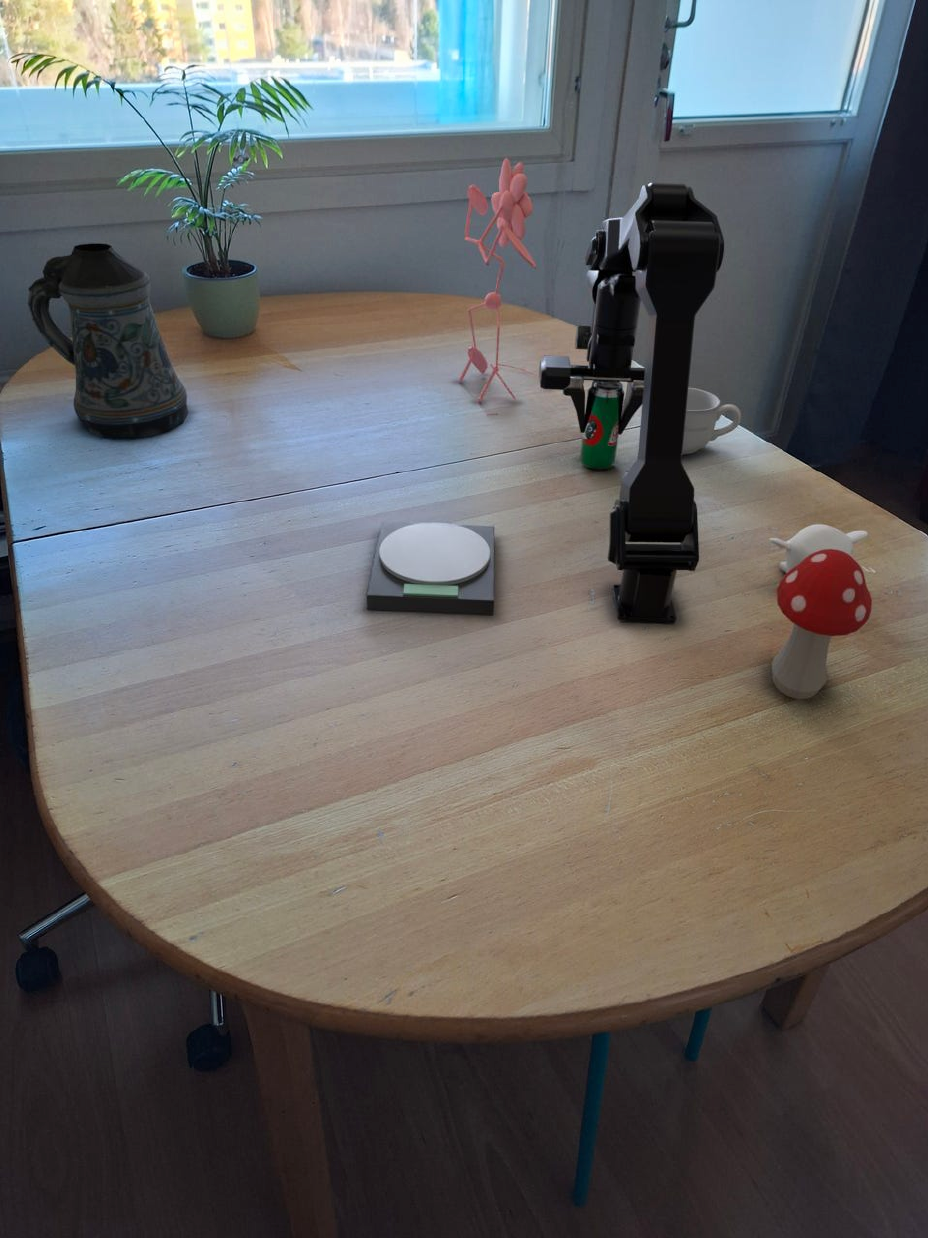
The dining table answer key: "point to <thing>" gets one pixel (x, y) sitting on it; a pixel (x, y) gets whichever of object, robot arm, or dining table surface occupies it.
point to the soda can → (602, 424)
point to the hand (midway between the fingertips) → (600, 432)
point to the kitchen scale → (433, 569)
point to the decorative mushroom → (818, 617)
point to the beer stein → (110, 344)
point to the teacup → (705, 419)
